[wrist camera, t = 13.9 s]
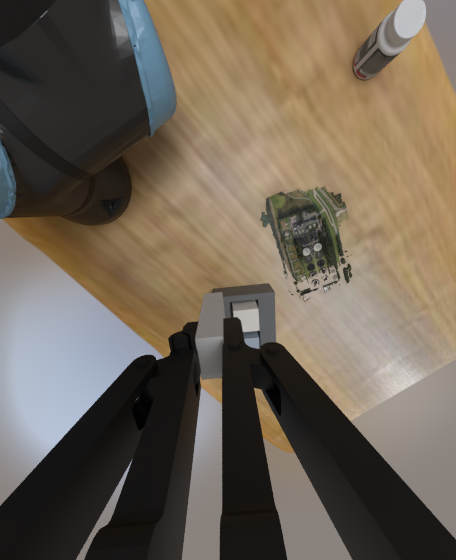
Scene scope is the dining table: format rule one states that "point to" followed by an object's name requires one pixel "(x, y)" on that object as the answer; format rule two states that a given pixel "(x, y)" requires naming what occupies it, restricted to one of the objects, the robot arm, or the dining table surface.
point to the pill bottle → (389, 38)
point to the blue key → (251, 339)
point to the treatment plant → (308, 232)
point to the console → (264, 302)
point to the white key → (247, 314)
